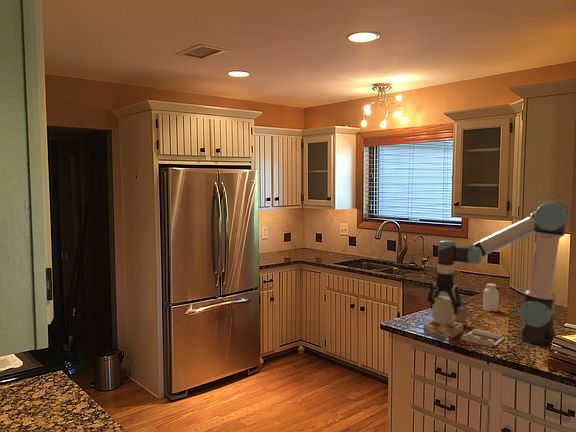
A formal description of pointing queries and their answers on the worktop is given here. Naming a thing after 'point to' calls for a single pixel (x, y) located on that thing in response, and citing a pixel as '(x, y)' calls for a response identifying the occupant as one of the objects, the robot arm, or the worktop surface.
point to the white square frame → (482, 338)
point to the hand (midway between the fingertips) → (443, 318)
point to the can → (443, 310)
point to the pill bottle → (490, 298)
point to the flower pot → (460, 316)
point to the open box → (443, 328)
